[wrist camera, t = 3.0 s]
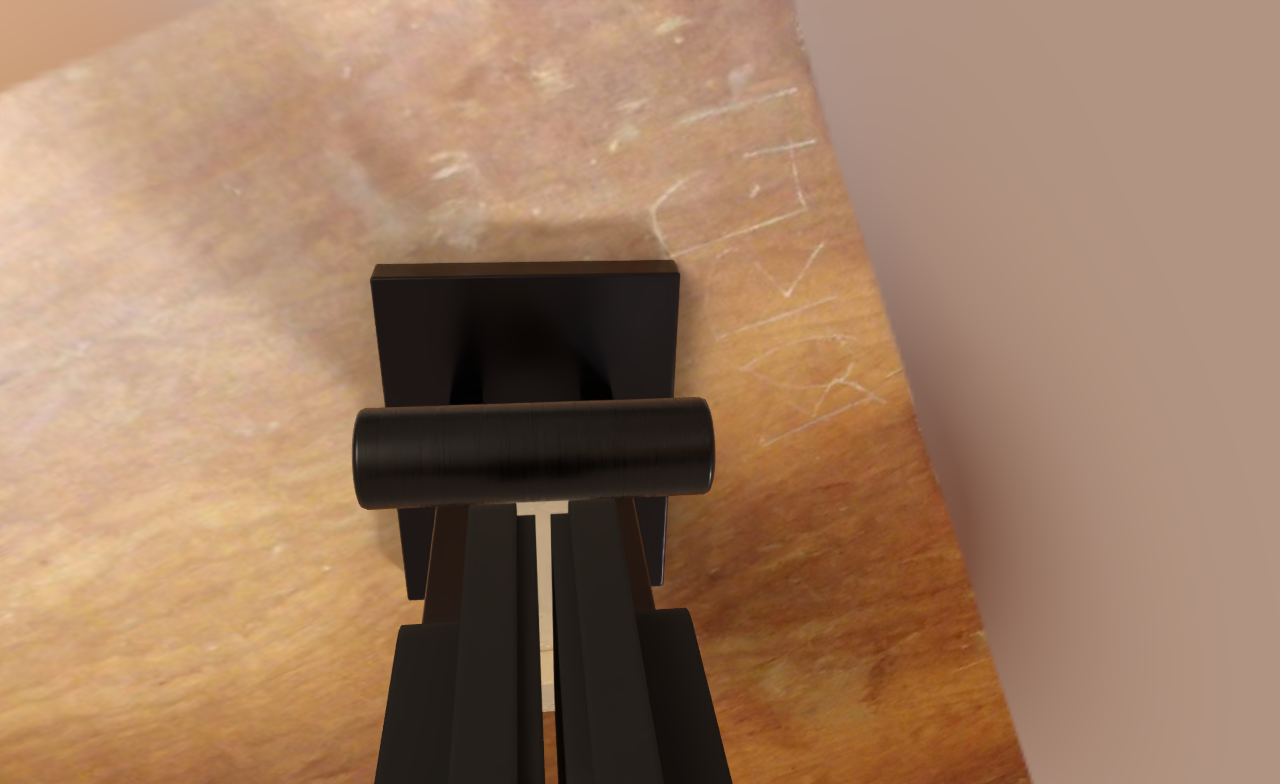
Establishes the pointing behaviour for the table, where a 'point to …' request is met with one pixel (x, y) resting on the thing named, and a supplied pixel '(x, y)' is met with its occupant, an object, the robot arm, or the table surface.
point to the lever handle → (533, 464)
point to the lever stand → (524, 377)
